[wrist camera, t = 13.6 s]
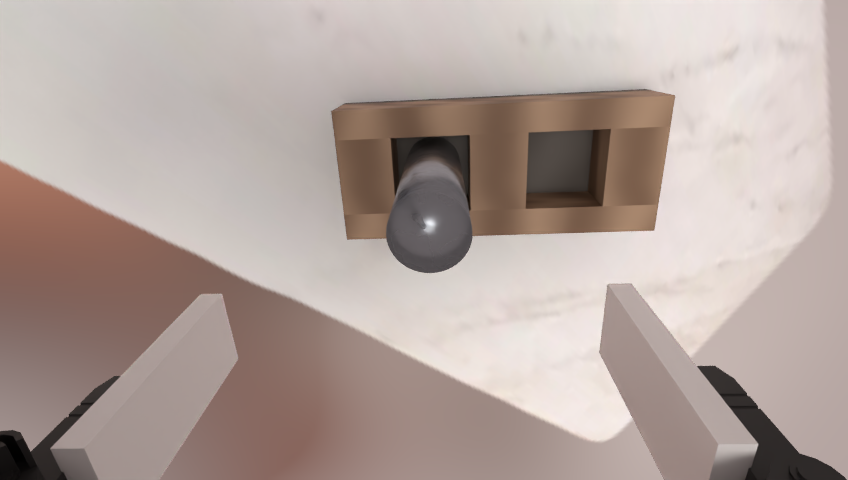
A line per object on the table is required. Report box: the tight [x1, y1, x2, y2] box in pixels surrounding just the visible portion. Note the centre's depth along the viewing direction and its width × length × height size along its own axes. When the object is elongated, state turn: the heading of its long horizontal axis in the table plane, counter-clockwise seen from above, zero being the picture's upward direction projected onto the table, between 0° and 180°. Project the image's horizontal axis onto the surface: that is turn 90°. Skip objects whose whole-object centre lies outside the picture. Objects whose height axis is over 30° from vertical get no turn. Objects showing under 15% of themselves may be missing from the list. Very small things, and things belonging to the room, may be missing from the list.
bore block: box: [331, 89, 675, 240], centre depth 36 cm, size 24×10×5 cm, turn 93°
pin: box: [386, 136, 473, 273], centre depth 31 cm, size 4×4×16 cm
